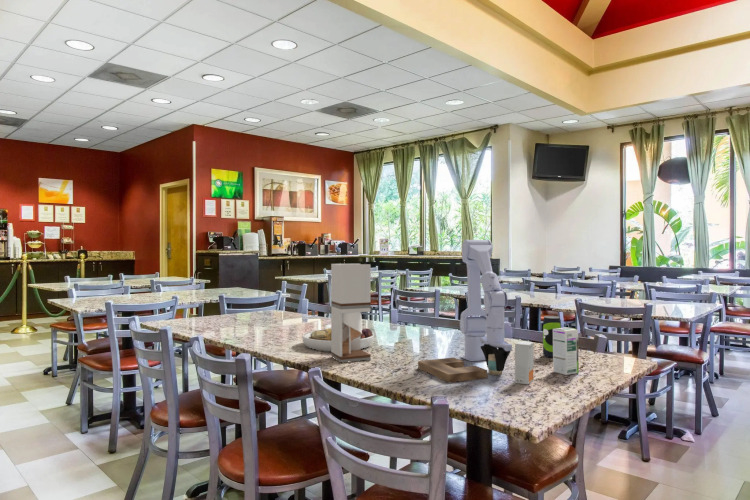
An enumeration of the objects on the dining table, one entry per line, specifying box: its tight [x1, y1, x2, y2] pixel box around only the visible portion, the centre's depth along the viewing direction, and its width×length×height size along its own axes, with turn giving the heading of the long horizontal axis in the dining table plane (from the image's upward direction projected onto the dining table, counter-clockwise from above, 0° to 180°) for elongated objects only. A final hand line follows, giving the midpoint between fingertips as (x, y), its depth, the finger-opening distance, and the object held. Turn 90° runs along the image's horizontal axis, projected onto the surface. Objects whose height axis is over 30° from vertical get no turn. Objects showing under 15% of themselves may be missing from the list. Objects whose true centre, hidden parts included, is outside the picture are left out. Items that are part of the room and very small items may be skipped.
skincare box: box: [514, 340, 535, 386], centre depth 157 cm, size 6×4×12 cm
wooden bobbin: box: [487, 354, 503, 376], centre depth 167 cm, size 5×5×6 cm
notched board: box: [417, 357, 488, 383], centre depth 168 cm, size 14×20×2 cm
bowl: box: [301, 327, 375, 352], centre depth 215 cm, size 30×30×8 cm
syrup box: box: [552, 327, 580, 376], centre depth 168 cm, size 6×6×14 cm
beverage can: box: [542, 315, 562, 359], centre depth 193 cm, size 6×6×15 cm
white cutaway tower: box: [330, 263, 372, 363], centre depth 189 cm, size 11×11×35 cm
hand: (495, 369), depth 167 cm, fingers closed on wooden bobbin, 5 cm apart
